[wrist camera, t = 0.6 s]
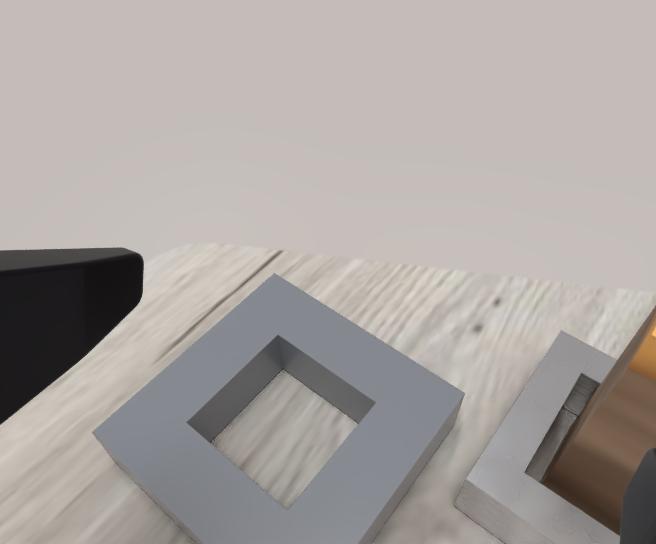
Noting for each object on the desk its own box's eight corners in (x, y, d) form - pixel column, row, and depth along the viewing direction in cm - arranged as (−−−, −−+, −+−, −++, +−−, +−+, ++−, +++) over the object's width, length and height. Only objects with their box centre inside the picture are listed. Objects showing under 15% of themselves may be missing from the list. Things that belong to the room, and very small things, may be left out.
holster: (671, 666, 19) (715, 654, 17) (453, 505, 23) (465, 478, 21) (733, 473, 24) (775, 443, 22) (543, 364, 28) (561, 330, 25)
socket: (299, 646, 20) (294, 632, 18) (114, 461, 25) (91, 432, 22) (453, 425, 26) (465, 393, 23) (279, 308, 30) (274, 273, 28)
